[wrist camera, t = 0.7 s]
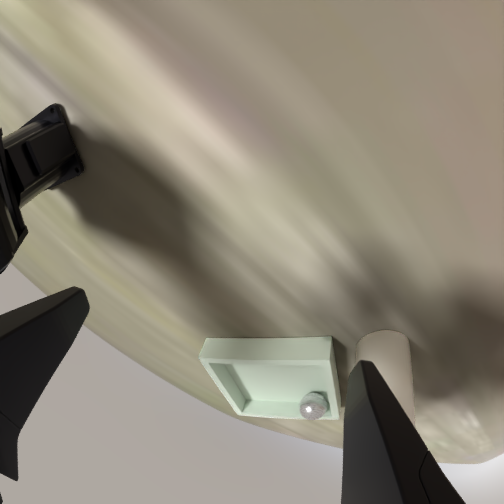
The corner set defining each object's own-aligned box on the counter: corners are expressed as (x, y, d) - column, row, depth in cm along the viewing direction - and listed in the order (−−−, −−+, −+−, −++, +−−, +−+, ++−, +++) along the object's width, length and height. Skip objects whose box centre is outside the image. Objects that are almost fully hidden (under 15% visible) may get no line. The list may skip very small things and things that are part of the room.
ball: (303, 400, 35) (299, 423, 32) (298, 387, 33) (294, 412, 30) (330, 400, 33) (327, 424, 31) (327, 387, 32) (324, 412, 29)
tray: (242, 398, 38) (237, 414, 36) (206, 337, 32) (198, 357, 30) (341, 400, 34) (339, 419, 32) (331, 336, 27) (329, 359, 25)
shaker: (355, 365, 29) (343, 502, 18) (353, 331, 27) (340, 490, 16) (408, 361, 28) (409, 498, 17) (412, 326, 25) (421, 486, 14)
